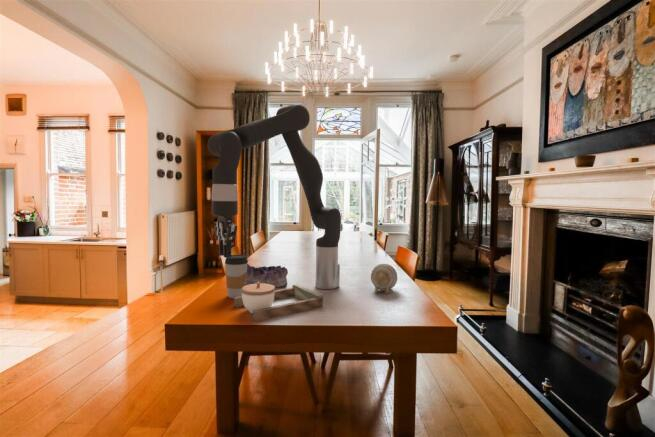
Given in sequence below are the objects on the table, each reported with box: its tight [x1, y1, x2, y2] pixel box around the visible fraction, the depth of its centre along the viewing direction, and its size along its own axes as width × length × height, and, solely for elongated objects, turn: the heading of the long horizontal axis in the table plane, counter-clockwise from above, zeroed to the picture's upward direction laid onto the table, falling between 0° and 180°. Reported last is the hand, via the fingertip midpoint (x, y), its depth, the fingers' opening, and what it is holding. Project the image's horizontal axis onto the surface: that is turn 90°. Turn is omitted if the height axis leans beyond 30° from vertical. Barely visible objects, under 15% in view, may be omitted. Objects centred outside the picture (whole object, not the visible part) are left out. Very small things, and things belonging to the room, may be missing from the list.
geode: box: [246, 263, 289, 288], centre depth 139 cm, size 20×12×10 cm, turn 101°
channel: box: [233, 283, 324, 322], centre depth 113 cm, size 25×17×4 cm
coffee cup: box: [224, 254, 249, 299], centre depth 123 cm, size 8×8×15 cm
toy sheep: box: [370, 263, 398, 295], centre depth 134 cm, size 11×17×11 cm, turn 165°
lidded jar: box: [242, 282, 276, 314], centre depth 108 cm, size 11×11×9 cm
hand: (225, 255), depth 101 cm, fingers open, 3 cm apart
